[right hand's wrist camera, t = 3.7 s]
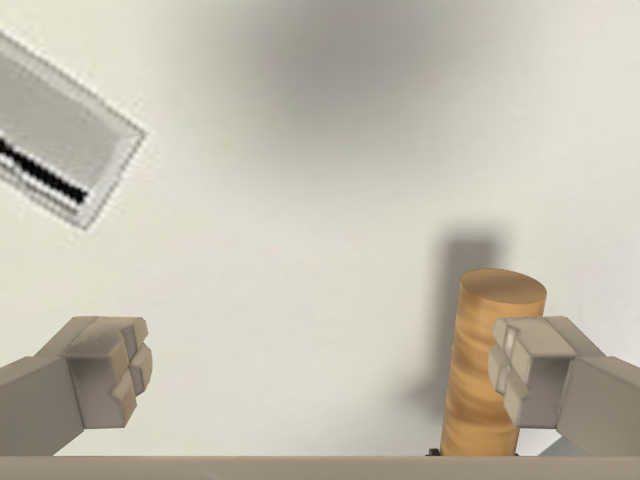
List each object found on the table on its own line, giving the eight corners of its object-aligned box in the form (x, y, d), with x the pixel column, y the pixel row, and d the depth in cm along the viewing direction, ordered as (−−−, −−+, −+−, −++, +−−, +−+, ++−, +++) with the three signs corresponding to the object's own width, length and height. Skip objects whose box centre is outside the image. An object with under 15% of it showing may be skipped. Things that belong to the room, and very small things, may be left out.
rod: (450, 268, 36) (476, 304, 30) (524, 267, 36) (563, 303, 30) (427, 472, 43) (445, 531, 38) (488, 471, 44) (514, 530, 38)
